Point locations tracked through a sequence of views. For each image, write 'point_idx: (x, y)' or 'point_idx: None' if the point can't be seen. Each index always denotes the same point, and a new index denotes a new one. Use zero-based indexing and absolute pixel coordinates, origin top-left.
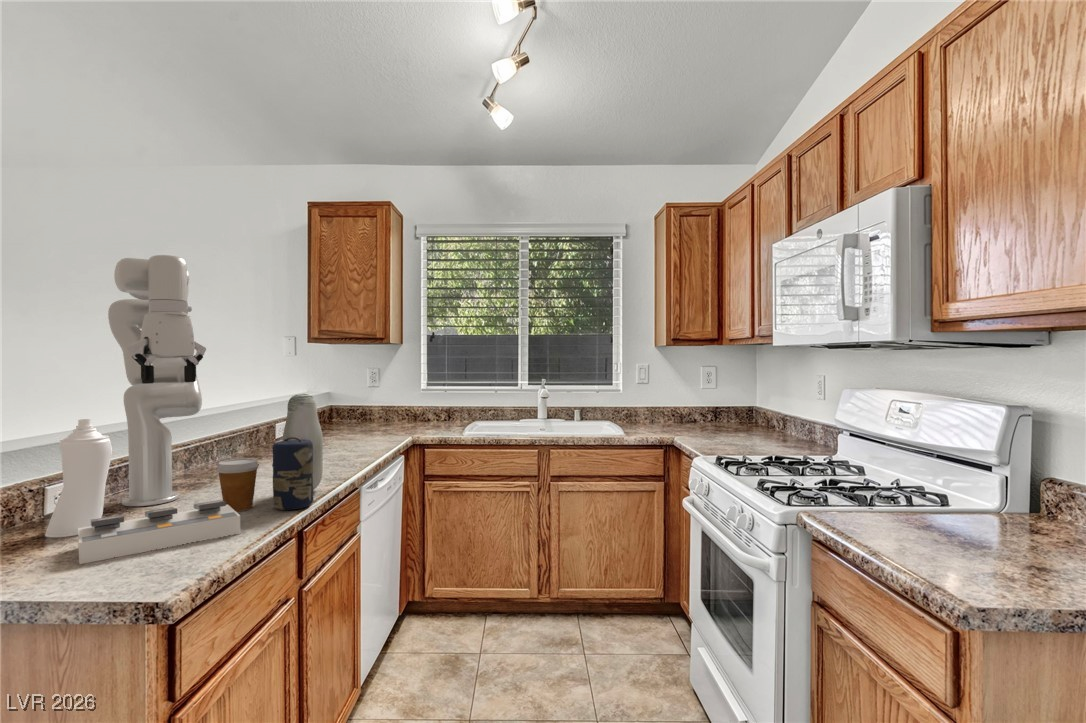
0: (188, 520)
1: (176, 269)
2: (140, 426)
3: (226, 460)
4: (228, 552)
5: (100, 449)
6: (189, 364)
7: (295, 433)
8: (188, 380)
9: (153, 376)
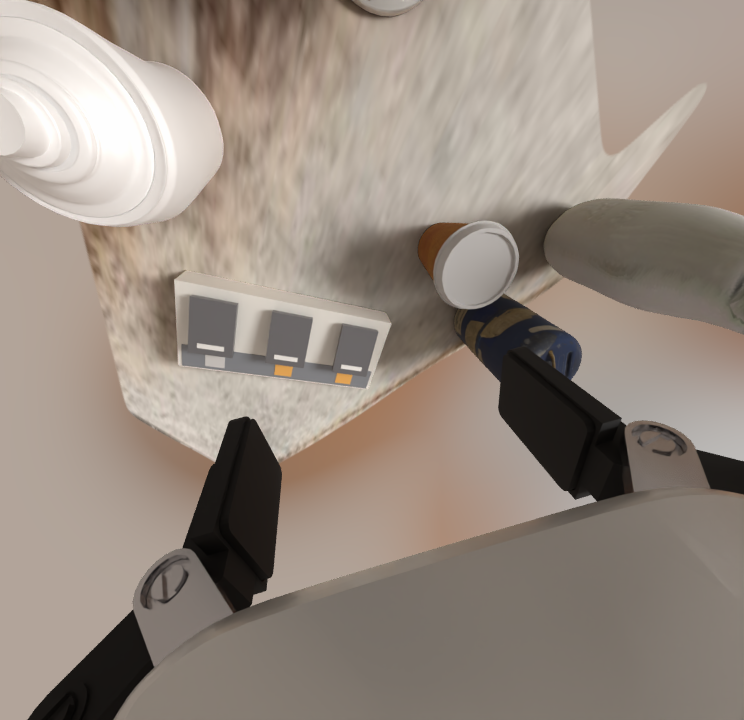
0: (314, 368)
1: None
2: None
3: (481, 231)
4: (325, 420)
5: (154, 222)
6: (594, 476)
7: (642, 293)
8: (504, 388)
9: (276, 504)
